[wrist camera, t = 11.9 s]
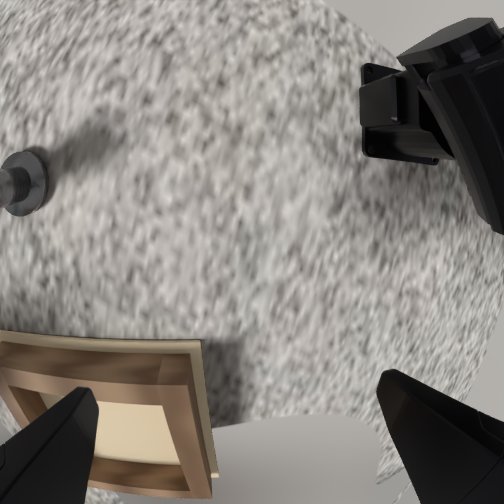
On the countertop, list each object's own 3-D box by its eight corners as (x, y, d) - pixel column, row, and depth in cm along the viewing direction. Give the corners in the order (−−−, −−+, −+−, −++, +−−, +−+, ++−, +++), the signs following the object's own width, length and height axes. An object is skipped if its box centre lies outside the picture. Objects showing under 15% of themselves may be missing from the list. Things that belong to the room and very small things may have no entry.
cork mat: (200, 339, 21) (200, 342, 21) (218, 475, 27) (219, 477, 27) (-8, 328, 19) (-10, 330, 18) (63, 459, 25) (62, 461, 25)
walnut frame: (190, 353, 21) (187, 385, 18) (211, 473, 26) (212, 498, 23) (1, 340, 19) (-17, 362, 16) (67, 458, 24) (60, 479, 21)
